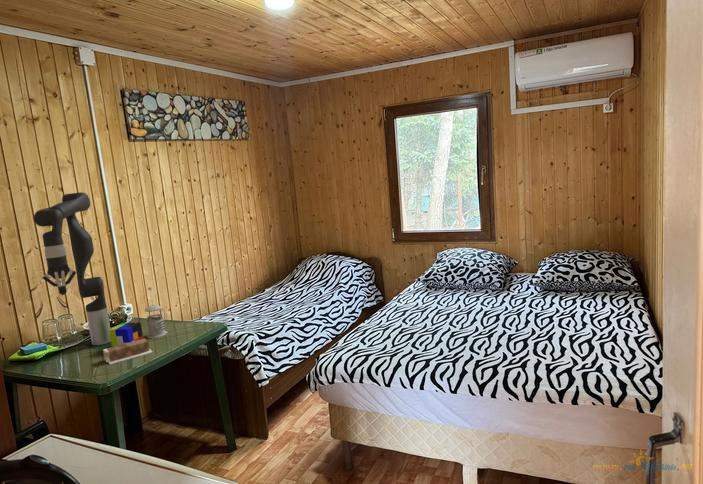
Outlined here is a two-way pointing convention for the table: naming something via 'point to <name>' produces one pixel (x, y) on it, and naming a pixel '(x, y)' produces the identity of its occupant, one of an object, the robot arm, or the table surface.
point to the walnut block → (125, 350)
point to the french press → (153, 329)
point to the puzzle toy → (125, 333)
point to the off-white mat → (130, 357)
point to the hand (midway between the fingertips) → (63, 294)
